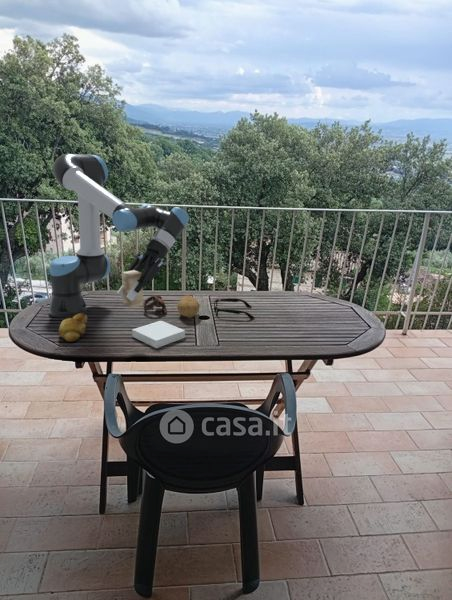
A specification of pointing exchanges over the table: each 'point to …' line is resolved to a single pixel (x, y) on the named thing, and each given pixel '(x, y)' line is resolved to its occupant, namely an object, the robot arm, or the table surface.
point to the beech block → (128, 282)
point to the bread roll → (73, 327)
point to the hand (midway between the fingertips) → (124, 296)
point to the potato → (188, 306)
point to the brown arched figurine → (154, 303)
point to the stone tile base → (158, 334)
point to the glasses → (232, 310)
